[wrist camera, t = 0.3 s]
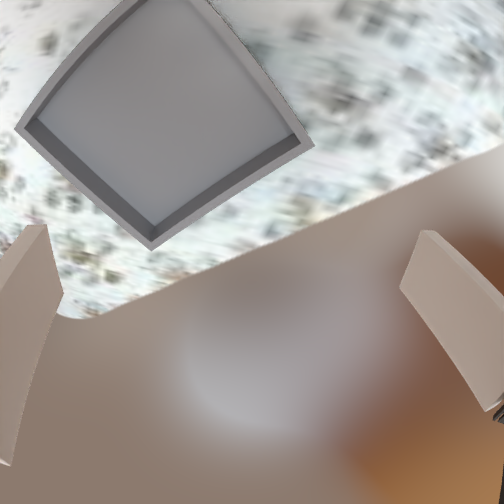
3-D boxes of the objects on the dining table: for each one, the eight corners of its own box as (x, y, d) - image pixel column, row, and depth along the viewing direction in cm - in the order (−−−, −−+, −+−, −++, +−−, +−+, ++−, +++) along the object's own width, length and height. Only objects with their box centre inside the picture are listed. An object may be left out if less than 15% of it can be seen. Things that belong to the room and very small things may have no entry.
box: (177, -31, 19) (170, -37, 16) (305, 131, 32) (315, 145, 29) (31, 115, 26) (13, 129, 24) (156, 230, 40) (151, 251, 37)
